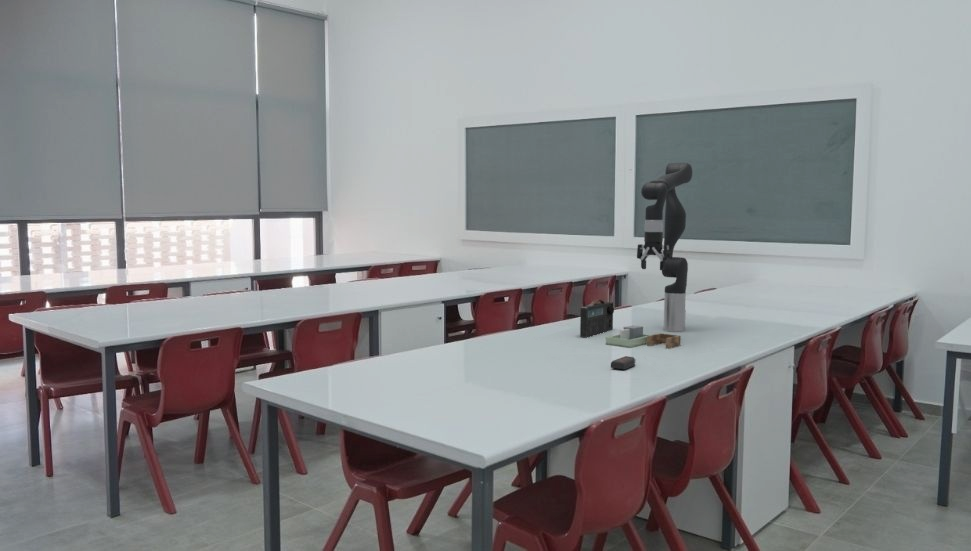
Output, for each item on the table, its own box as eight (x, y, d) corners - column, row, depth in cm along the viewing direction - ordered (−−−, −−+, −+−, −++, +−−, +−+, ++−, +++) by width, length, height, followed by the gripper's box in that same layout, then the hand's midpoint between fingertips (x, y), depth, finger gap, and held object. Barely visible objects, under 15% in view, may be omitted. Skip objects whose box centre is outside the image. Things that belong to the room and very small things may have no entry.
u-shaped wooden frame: (659, 342, 328) (660, 333, 328) (680, 345, 322) (680, 335, 322) (647, 345, 321) (647, 336, 321) (667, 348, 315) (668, 338, 314)
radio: (588, 338, 340) (589, 291, 338) (580, 337, 343) (580, 291, 341) (615, 331, 361) (615, 287, 359) (606, 330, 363) (607, 286, 361)
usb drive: (610, 367, 278) (610, 360, 277) (625, 362, 288) (625, 355, 287) (624, 369, 275) (624, 361, 275) (638, 364, 285) (638, 356, 284)
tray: (629, 339, 337) (629, 332, 337) (653, 342, 329) (653, 335, 329) (605, 344, 324) (605, 337, 324) (630, 347, 316) (630, 340, 316)
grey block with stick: (632, 339, 333) (632, 325, 332) (642, 340, 329) (643, 326, 329) (615, 343, 323) (616, 328, 323) (626, 344, 320) (626, 329, 320)
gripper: (673, 231, 327) (672, 270, 329) (643, 230, 337) (642, 268, 338) (664, 231, 322) (663, 271, 323) (634, 230, 332) (633, 269, 333)
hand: (652, 269), depth 331 cm, fingers open, 8 cm apart
